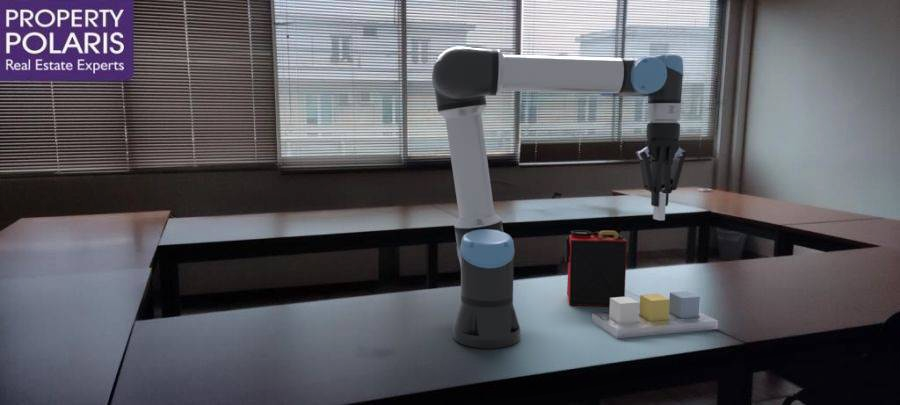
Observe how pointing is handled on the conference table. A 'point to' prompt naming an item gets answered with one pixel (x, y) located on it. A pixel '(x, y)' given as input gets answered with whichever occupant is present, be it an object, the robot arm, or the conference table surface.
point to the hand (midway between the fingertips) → (658, 219)
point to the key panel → (654, 325)
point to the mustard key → (654, 307)
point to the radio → (595, 267)
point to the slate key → (684, 304)
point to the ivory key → (624, 310)
